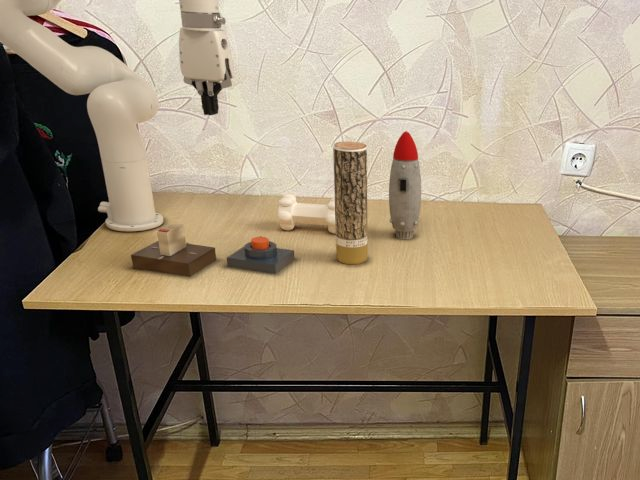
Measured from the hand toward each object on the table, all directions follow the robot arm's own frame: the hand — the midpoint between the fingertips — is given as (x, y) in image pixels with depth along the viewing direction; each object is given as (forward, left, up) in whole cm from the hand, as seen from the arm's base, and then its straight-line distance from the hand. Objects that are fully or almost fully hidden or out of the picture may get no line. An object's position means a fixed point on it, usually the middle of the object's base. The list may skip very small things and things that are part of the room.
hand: (211, 114), depth 156 cm
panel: (+1, -21, -27) cm, 34 cm away
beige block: (+1, -21, -24) cm, 32 cm away
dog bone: (+18, +10, -27) cm, 34 cm away
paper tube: (+34, -5, -27) cm, 44 cm away
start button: (+17, -14, -23) cm, 32 cm away
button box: (+17, -14, -27) cm, 35 cm away
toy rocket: (+40, +14, -27) cm, 50 cm away
